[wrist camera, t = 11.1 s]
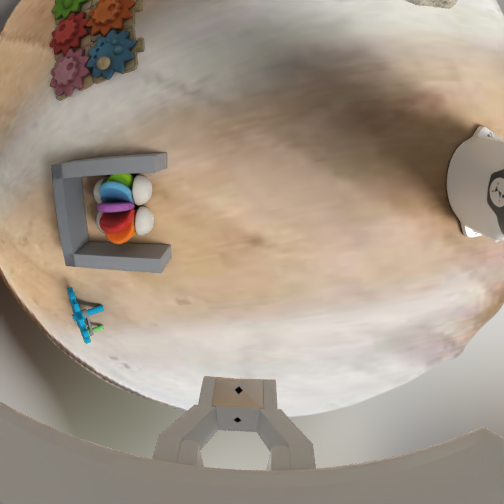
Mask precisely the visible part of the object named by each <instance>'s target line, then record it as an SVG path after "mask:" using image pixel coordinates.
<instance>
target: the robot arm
mask: <svg viewBox="0 0 504 504" xmlns="http://www.w3.org/2000/svg"><path fill="white" fill-rule="evenodd" d="M487 135H488V137H487ZM447 193H448V198H449V202H450V205H451V207H452V210H453V211H454V213H455V214H456V216H457V217H458V218H459V220H460V222H461V227H462V231H463V234H464V235H465V236H467V237H469V238H471V237H476V236H482V235H483V236H485V237H487V238H489V239H491V240H493V241H495V242H498V241H499V240H504V140H502V139H501V138H499V137H498V136H497V135H496V134H494V133H493V132H492V131H490V130H489V129H488V128H486V127H484V126H479V127H478V128H477V130H476V131H475V133H474V135H473V136H472V137H471V138H470V139H468V140H466V141H464V142H463V143H462V144H461V145H460V146H459V147H458V148H457V149H456V151H455V153H454V154H453V157H452V159H451V161H450V165H449V169H448V174H447ZM218 430H228V431H247V432H257V433H258V435H259V436H260V438H261V439H262V440H263V442H264V443H265V445H266V446H267V448H268V449H269V451H270V457H269V461H268V465H267V470H263V471H262V470H234V469H220V468H209V467H204V465H203V461H202V457H201V453H200V450H201V449H202V448H203V447H204V446H205V445H206V444H207V443H208V441H209V440H210V439H211V438H212V437H213V436H214V434H215V433H216V432H217V431H218ZM0 504H504V438H502V437H501V436H499V435H498V434H496V433H494V432H493V431H491V430H489V429H486V428H479V429H477V430H474V431H472V432H469V433H467V434H464V435H462V436H459V437H456V438H454V439H451V440H448V441H445V442H442V443H439V444H437V445H433V446H430V447H427V448H423V449H420V450H417V451H413V452H409V453H405V454H401V455H397V456H393V457H389V458H384V459H379V460H374V461H369V462H363V463H358V464H350V465H343V466H336V467H327V468H317V469H316V466H315V458H314V450H313V444H312V443H311V441H309V439H307V437H306V436H305V435H304V434H303V433H302V432H301V431H300V430H299V429H298V428H297V427H296V426H295V424H294V423H293V422H292V421H291V420H290V419H289V418H288V417H287V416H286V414H285V413H284V412H283V411H282V410H281V409H277V393H276V381H275V380H264V379H233V378H222V377H210V376H204V378H203V383H202V388H201V393H200V398H199V403H198V405H194V406H193V407H191V408H190V409H189V410H188V411H187V412H186V413H185V414H183V415H182V416H181V417H180V418H179V419H177V420H176V421H175V422H174V423H173V424H171V425H170V426H169V427H168V428H167V429H165V430H164V431H163V432H162V433H161V434H159V437H158V440H157V444H156V447H155V451H154V455H153V458H152V459H151V458H147V457H142V456H138V455H134V454H130V453H126V452H122V451H118V450H115V449H111V448H108V447H104V446H101V445H98V444H95V443H92V442H89V441H86V440H83V439H80V438H77V437H74V436H72V435H69V434H67V433H64V432H61V431H59V430H57V429H54V428H52V427H50V426H47V425H45V424H43V423H41V422H38V421H36V420H34V419H32V418H30V417H28V416H26V415H24V414H22V413H20V412H18V411H16V410H14V409H12V408H11V407H9V406H7V405H5V404H3V403H1V402H0Z"/></svg>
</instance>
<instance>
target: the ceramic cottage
mask: <svg viewBox="0 0 504 504" xmlns="http://www.w3.org/2000/svg"><path fill="white" fill-rule="evenodd" d="M406 1H408V2H410V3H413V4H415V5H422V6H433V7H441V8H451V7H453V6H454V5H455V4H456V3H457V0H406Z"/></svg>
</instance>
